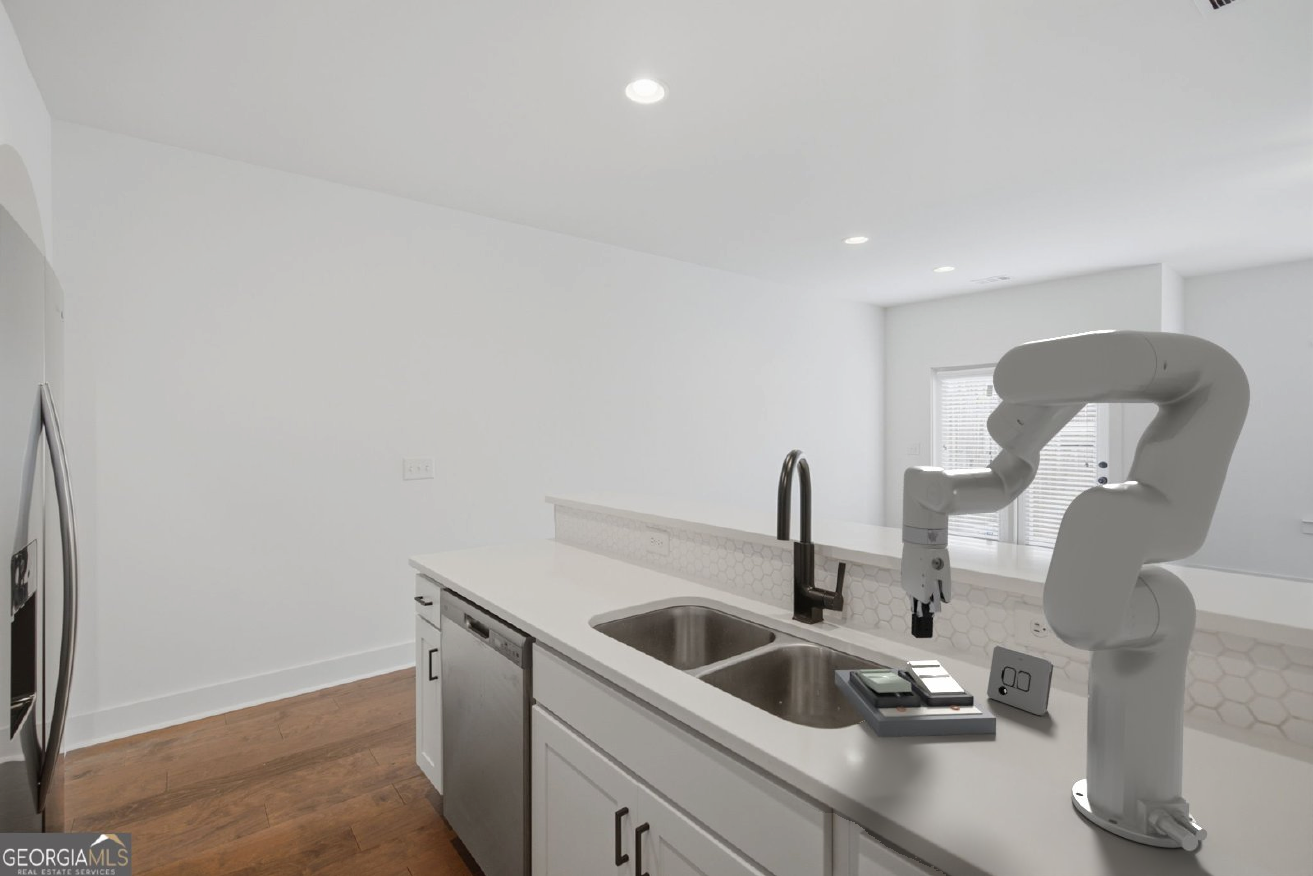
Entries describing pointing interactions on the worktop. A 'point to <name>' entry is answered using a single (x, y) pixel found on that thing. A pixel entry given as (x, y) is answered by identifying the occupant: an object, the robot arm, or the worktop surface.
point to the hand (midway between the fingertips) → (921, 636)
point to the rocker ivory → (933, 678)
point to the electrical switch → (1020, 680)
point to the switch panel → (914, 709)
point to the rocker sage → (884, 681)
